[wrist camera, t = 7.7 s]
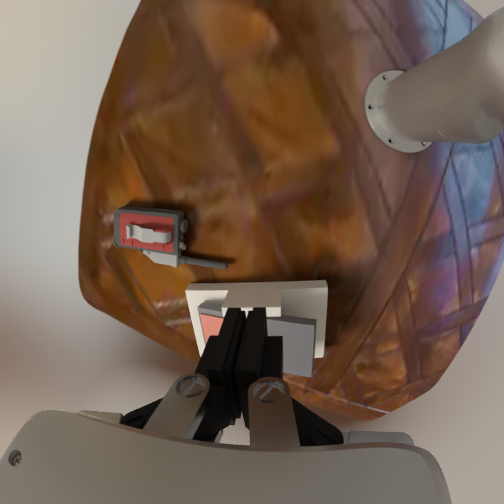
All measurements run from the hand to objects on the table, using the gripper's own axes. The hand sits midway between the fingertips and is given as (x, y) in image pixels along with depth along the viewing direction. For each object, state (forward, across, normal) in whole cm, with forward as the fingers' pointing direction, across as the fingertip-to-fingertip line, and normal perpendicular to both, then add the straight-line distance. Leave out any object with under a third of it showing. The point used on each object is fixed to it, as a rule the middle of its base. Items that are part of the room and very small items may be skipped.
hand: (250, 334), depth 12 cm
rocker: (+24, +3, +19) cm, 31 cm away
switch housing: (+29, +4, +19) cm, 35 cm away
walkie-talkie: (+30, +17, +4) cm, 34 cm away
